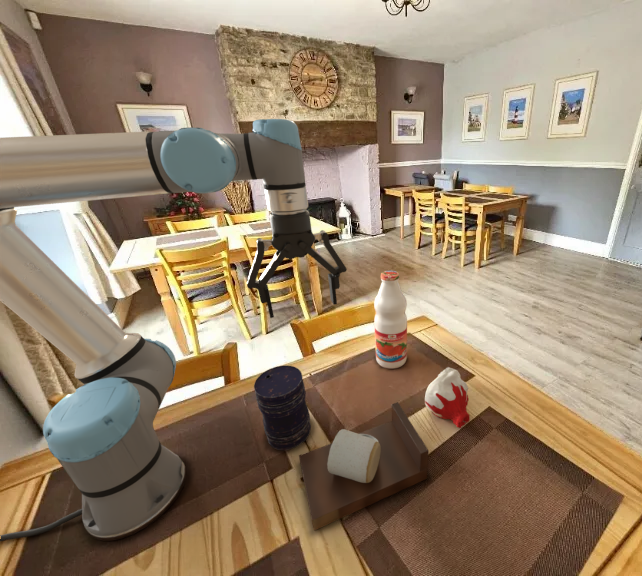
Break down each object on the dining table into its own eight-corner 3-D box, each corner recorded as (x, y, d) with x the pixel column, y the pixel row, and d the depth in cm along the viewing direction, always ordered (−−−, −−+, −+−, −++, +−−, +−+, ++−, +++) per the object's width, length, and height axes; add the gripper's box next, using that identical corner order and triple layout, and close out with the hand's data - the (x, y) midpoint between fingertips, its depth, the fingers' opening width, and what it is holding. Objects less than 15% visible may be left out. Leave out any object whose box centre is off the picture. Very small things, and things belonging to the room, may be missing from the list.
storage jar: (320, 422, 73) (312, 372, 67) (292, 457, 65) (280, 403, 59) (286, 409, 77) (276, 360, 71) (257, 440, 69) (242, 389, 63)
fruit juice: (406, 350, 98) (407, 267, 86) (407, 369, 89) (408, 280, 78) (376, 349, 98) (373, 267, 87) (374, 369, 90) (370, 280, 78)
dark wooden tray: (314, 530, 52) (307, 501, 49) (300, 465, 63) (295, 437, 60) (427, 478, 60) (428, 450, 57) (398, 428, 71) (397, 401, 68)
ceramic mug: (370, 494, 55) (369, 464, 51) (328, 482, 57) (324, 452, 54) (387, 444, 64) (387, 416, 61) (350, 435, 66) (348, 408, 63)
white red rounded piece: (449, 382, 83) (484, 429, 72) (411, 394, 80) (442, 446, 68) (454, 357, 79) (492, 403, 67) (414, 368, 75) (447, 420, 63)
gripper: (215, 221, 52) (243, 329, 61) (356, 207, 61) (362, 303, 70) (218, 214, 58) (242, 312, 67) (345, 202, 67) (352, 290, 76)
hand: (303, 308), depth 68 cm, fingers open, 13 cm apart
